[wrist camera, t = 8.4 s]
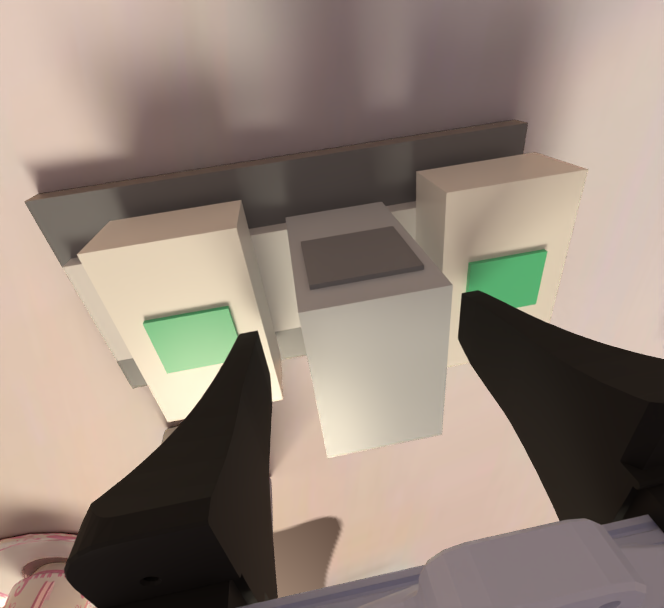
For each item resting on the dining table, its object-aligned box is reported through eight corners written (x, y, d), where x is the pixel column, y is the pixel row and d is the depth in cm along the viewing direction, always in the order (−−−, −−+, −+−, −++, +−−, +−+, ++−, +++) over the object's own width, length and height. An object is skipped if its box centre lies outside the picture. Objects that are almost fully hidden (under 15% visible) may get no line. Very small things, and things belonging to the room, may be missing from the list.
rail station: (514, 119, 16) (600, 139, 12) (488, 309, 22) (541, 367, 18) (37, 194, 15) (-50, 243, 11) (137, 375, 20) (105, 454, 16)
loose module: (381, 198, 15) (453, 279, 10) (386, 319, 19) (442, 434, 13) (284, 213, 15) (297, 308, 9) (307, 333, 18) (327, 458, 13)
